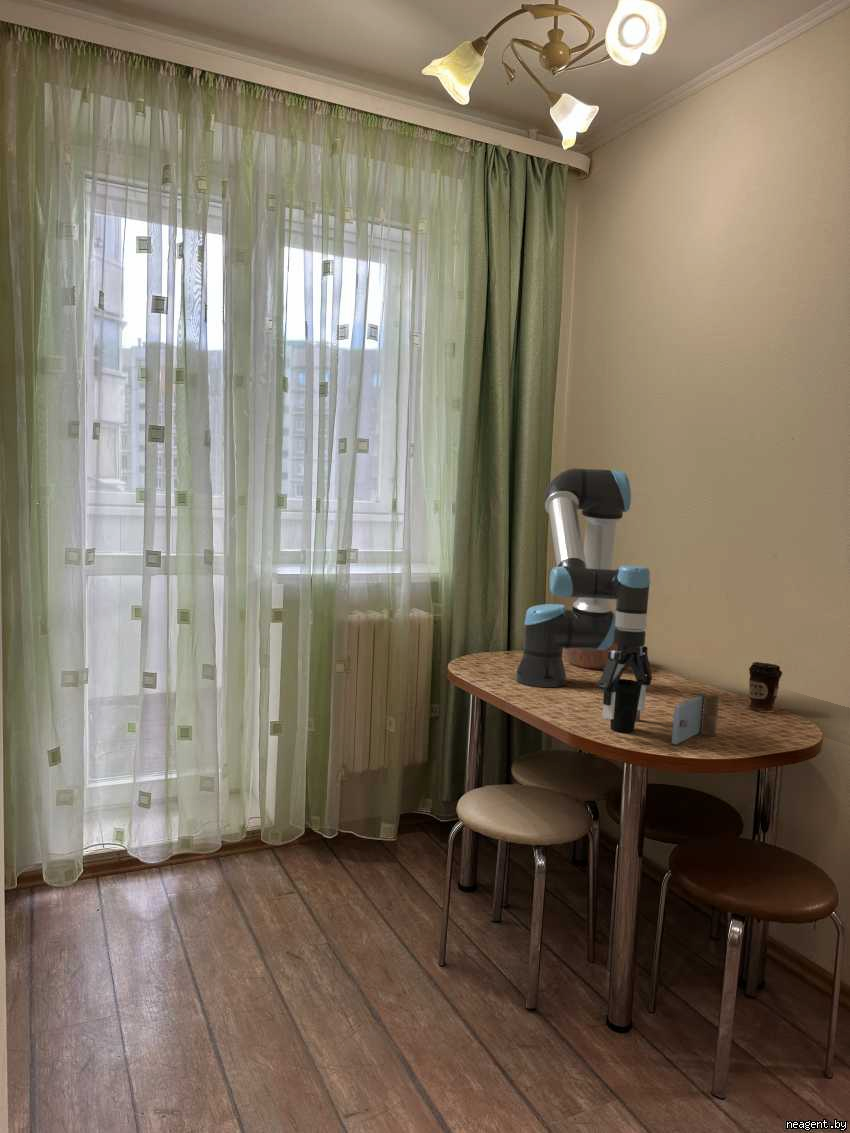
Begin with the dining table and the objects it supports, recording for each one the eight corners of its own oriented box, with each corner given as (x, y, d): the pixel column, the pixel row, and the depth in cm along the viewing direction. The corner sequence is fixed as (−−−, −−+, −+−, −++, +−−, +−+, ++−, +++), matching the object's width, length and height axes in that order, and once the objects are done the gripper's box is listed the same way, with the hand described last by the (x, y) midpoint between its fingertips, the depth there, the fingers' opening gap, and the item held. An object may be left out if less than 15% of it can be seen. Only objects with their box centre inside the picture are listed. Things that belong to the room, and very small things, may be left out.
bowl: (543, 664, 285) (546, 630, 284) (575, 653, 305) (578, 621, 304) (614, 677, 271) (617, 641, 270) (643, 665, 291) (646, 632, 290)
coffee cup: (762, 715, 234) (766, 668, 233) (738, 707, 241) (742, 661, 240) (784, 712, 238) (788, 666, 237) (760, 704, 245) (764, 660, 244)
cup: (602, 724, 216) (606, 678, 215) (631, 725, 217) (635, 679, 216) (611, 734, 209) (615, 685, 207) (642, 734, 209) (646, 686, 208)
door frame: (626, 719, 222) (629, 681, 221) (629, 717, 224) (632, 680, 223) (713, 736, 211) (717, 696, 210) (715, 734, 213) (719, 695, 212)
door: (696, 731, 215) (700, 692, 214) (706, 733, 214) (709, 694, 213) (671, 744, 203) (674, 702, 202) (681, 746, 202) (684, 705, 201)
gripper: (644, 622, 222) (637, 703, 224) (587, 630, 204) (581, 717, 206) (670, 627, 216) (663, 709, 218) (614, 635, 199) (607, 725, 201)
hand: (623, 713), depth 212 cm, fingers open, 13 cm apart
